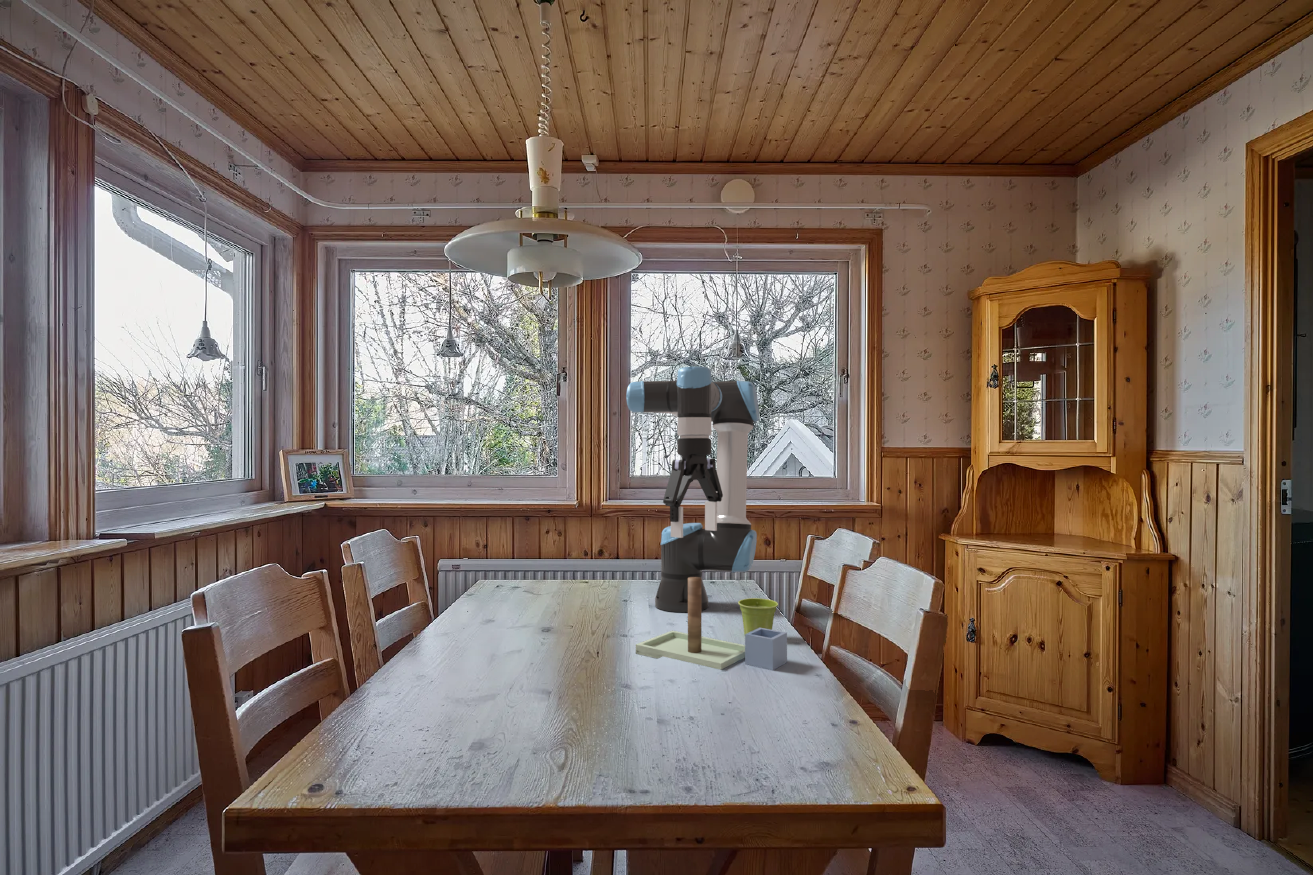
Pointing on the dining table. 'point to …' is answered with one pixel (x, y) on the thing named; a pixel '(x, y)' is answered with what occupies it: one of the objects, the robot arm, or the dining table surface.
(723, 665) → the tray
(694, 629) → the dowel
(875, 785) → the dining table surface
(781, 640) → the open box
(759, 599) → the plant pot
